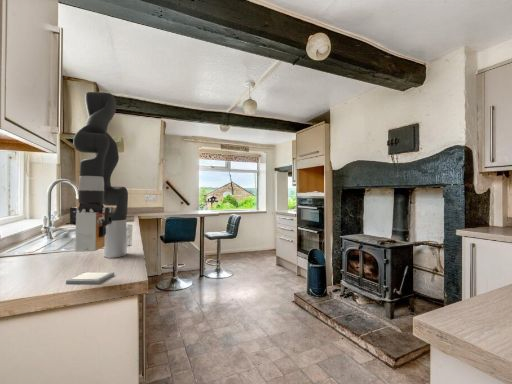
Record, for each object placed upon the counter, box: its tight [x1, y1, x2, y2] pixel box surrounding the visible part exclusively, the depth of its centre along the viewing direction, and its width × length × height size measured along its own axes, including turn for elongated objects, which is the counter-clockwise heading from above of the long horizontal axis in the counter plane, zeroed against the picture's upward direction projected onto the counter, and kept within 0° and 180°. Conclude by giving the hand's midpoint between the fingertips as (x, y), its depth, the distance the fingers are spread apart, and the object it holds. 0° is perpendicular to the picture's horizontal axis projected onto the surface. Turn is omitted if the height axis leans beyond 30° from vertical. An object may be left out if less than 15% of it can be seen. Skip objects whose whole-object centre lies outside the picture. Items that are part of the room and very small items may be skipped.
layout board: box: [65, 271, 115, 285], centre depth 90 cm, size 9×11×1 cm
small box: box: [74, 211, 105, 253], centre depth 90 cm, size 8×6×13 cm
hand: (91, 236), depth 90 cm, fingers closed on small box, 7 cm apart
